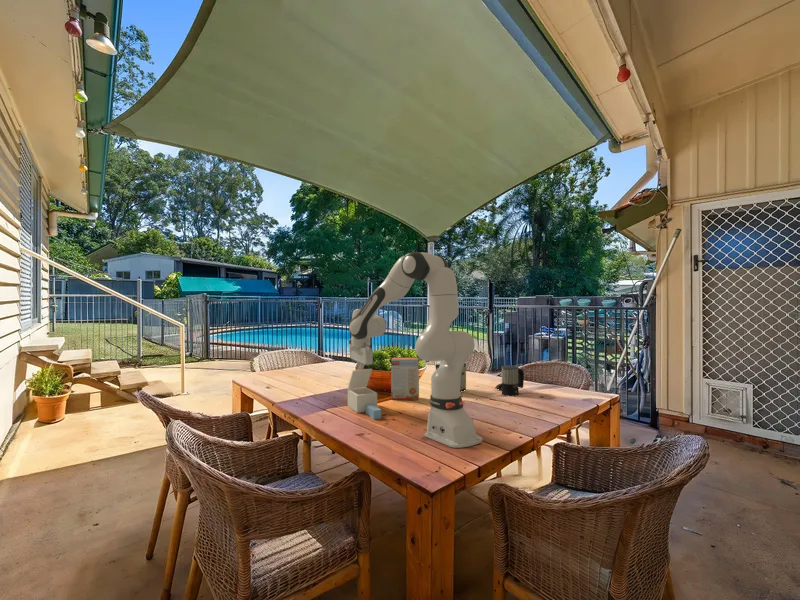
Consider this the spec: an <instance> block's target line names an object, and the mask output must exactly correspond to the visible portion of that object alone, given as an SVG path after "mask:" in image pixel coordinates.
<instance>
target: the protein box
mask: <svg viewBox="0 0 800 600" xmlns="http://www.w3.org/2000/svg"><path fill="white" fill-rule="evenodd" d="M440 364H441V363H437V364H435V371H436V370H437V369H438V368H439V366H440ZM464 390H466V391H467V363H466V362H465V364H464V367H463V370H462V373H461V381H460V392H461V391H464ZM464 392H465V391H464ZM461 393H462V392H461Z"/></svg>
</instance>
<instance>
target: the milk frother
mask: <svg viewBox="0 0 800 600" xmlns="http://www.w3.org/2000/svg"><path fill="white" fill-rule="evenodd" d="M500 368H501V383H498V384H497V385H496V386H495V389H496V388H497V389H499V390H498V391H501V390H502V391H501V392H502V394H501V395H503V394H504V395H503V396H506V395H509V396H508V397H515V396H514V395H517V396H519V395H520V392H519V388H520V389H523V388H524V384H525V383H524V381H525V379H524V378H525V371H524V370H523V369H522V368H520V367H519V366H517V365H512V364H511V365H510V364H509V365H505V364H504V365H501V367H500ZM497 389H496V390H497ZM518 394H519V395H518Z"/></svg>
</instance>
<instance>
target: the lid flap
mask: <svg viewBox="0 0 800 600" xmlns="http://www.w3.org/2000/svg"><path fill="white" fill-rule="evenodd" d="M372 371H373V368H365V369H363V370H358V369H356V370H355V369H354V370H352V372H351V375H350V380H349V383H348V386H347V390H351V389H359V388H368V387H367V386H368V384H369V381H370V377H371V374H372Z"/></svg>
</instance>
